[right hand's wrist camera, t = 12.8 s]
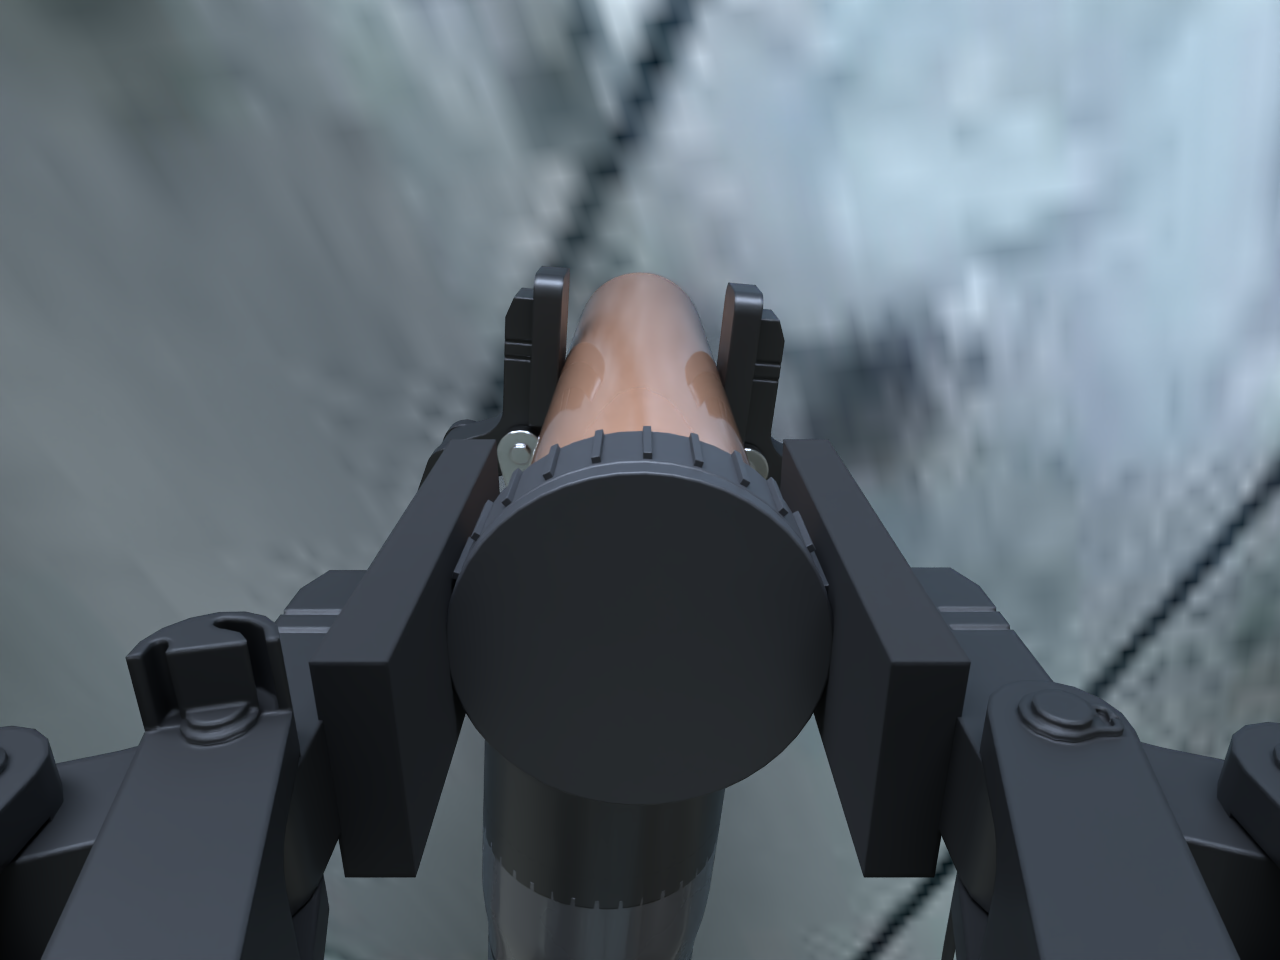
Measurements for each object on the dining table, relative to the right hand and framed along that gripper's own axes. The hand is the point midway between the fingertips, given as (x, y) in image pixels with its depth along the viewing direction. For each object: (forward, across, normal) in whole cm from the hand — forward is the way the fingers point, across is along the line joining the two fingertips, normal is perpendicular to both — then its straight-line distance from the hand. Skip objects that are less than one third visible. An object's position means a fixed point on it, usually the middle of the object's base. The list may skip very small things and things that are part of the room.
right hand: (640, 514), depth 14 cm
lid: (-4, 0, 0) cm, 4 cm away
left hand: (+8, 0, -3) cm, 8 cm away
